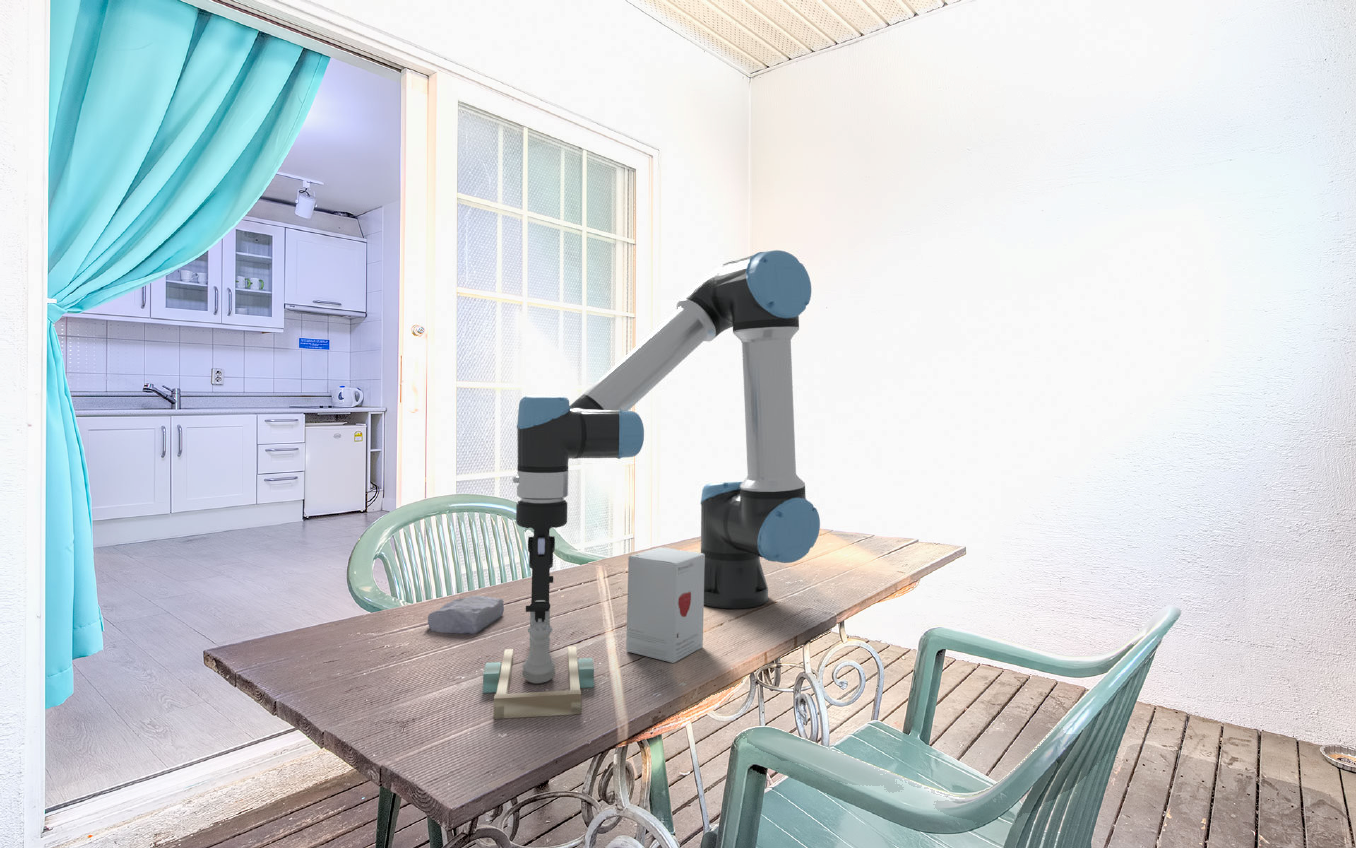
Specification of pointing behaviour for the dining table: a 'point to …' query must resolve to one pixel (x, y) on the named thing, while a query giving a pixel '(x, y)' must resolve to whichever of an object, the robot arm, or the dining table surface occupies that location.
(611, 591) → the dining table surface
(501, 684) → the beam track
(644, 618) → the supplement box
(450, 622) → the stone block
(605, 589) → the dining table surface
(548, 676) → the rook chess piece
